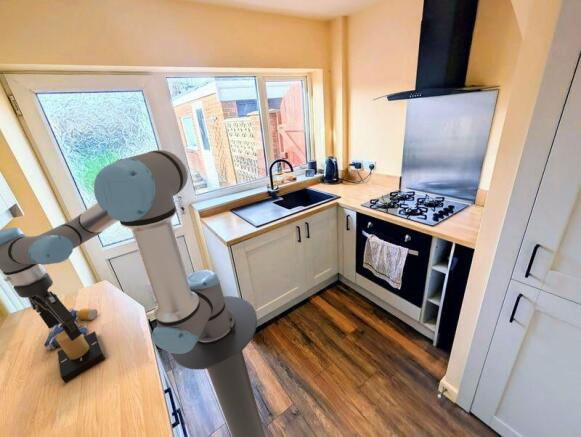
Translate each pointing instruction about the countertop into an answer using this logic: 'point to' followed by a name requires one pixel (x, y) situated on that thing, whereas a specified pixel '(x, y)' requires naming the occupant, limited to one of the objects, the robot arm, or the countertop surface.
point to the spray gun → (82, 314)
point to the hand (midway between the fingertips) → (65, 331)
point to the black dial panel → (81, 359)
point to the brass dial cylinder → (72, 345)
